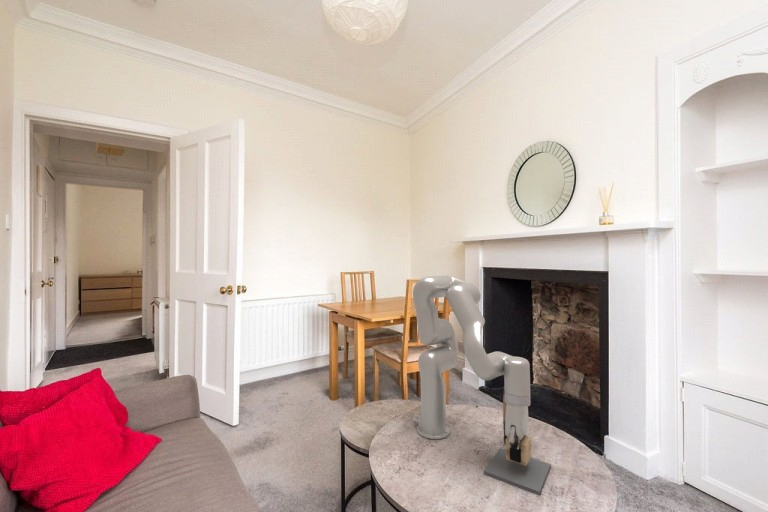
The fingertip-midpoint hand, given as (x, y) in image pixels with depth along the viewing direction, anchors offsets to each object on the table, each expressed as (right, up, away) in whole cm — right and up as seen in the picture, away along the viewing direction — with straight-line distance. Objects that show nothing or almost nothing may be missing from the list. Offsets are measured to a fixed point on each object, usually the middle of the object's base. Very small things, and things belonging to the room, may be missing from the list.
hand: (518, 455), depth 105 cm
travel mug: (+5, -5, +15) cm, 17 cm away
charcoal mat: (0, -5, 0) cm, 5 cm away
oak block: (0, -1, 0) cm, 1 cm away
